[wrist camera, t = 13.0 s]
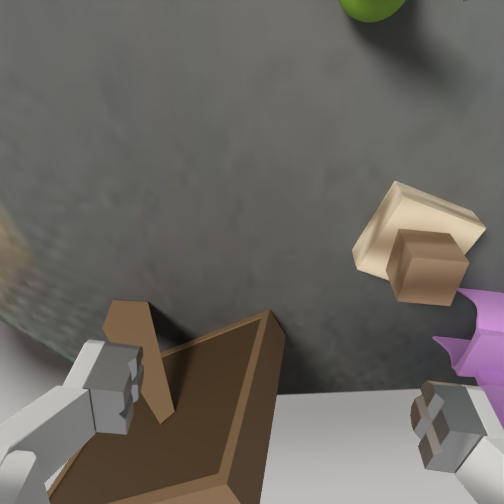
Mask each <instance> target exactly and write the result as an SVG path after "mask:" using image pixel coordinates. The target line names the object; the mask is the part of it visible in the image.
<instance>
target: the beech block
mask: <svg viewBox="0 0 504 504" xmlns="http://www.w3.org/2000/svg"><path fill="white" fill-rule="evenodd" d="M398 229H408V230H419V231H430V232H440V233H450V234H451V236H452V237H453V239H454V240H455V242H456V243H457V245H458V246H459V248H460V249H461V251H462V252H463V254H464V255H465V254H466V253H467V252H468V250H469V249H470V248H471V247H472V245H473V244H474V243H475V242H476V241H477V239H478V238H479V237H480V236H481V234H482V233H483V232H484V231H485V229H486V227H485V226H484V225H483V224H482V223H481V221H480V220H479V219H478V218H477V217H476V215H475V214H474V213H473V212H472V211H471V210H469V209H466V208H463V207H461V206H458V205H456V204H453V203H451V202H448V201H445V200H443V199H440V198H438V197H435V196H433V195H430V194H428V193H425V192H422V191H420V190H417V189H415V188H412V187H410V186H407V185H404V184H402V183H399V182H397V181H394V183H393V185H392V186H391V188H390V190H389V191H388V193H387V194H386V196H385V198H384V199H383V201H382V202H381V204H380V206H379V207H378V209H377V211H376V212H375V214H374V215H373V217H372V219H371V220H370V222H369V223H368V225H367V227H366V228H365V230H364V231H363V233H362V235H361V236H360V238H359V240H358V241H357V243H356V244H355V246H354V248H353V249H352V253H353V256H354V260H355V264H356V267H357V269H358V270H360V271H363V272H366V273H369V274H372V275H375V276H378V277H381V278H384V279H386V280H389V278H388V275H387V273H386V267H387V264H388V260H389V257H390V254H391V251H392V248H393V245H394V242H395V238H396V235H397V232H398Z"/></svg>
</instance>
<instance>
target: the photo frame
mask: <svg viewBox="0 0 504 504" xmlns="http://www.w3.org/2000/svg"><path fill="white" fill-rule="evenodd" d="M102 329H103V331H104V333H105V335H106V336H107V338H108V340H109V341H110V342H113V343H120V344H127V345H134V346H141V347H143V358H142V361H141V364H142V365H143V366H144V377H143V383H142V388H141V392H140V395H139V399H138V400H137V401H135V402H134V403H133V408H134V414H133V417H132V420H131V423H130V426H129V429H128V432H127V435H125V434H114V433H102V432H95V435H94V436H93V437H92V438H91V439H89V440H88V441H87V442H86V443H85V444H84V445H83V446H82V447H81V448H80V449H79V450H78V451H77V452H76V453H75V454H74V455H73V456H72V457H71V458H70V459H69V460H68V462H67V464H66V465H65V466H64V468H63V469H62V471H61V472H60V474H59V475H58V477H57V478H56V479H55V481H54V483H53V484H52V485H51V487H50V488H49V490H48V491H47V494H48V498H49V501H50V504H260V497H261V491H262V484H263V478H264V472H265V465H266V459H267V453H268V447H269V440H270V434H271V428H272V421H273V415H274V409H275V401H276V396H277V389H278V383H279V377H280V370H281V364H282V358H283V351H284V345H285V339H286V336H285V334H284V332H283V331H282V329H281V327H280V326H279V324H278V322H277V320H276V319H275V317H274V315H273V314H272V312H271V310H270V309H269V310H266V311H264V312H261V313H259V314H256V315H254V316H251V317H249V318H246V319H244V320H241V321H239V322H236V323H234V324H231V325H229V326H226V327H224V328H221V329H219V330H216V331H214V332H211V333H209V334H206V335H204V336H201V337H199V338H196V339H194V340H191V341H189V342H186V343H184V344H181V345H179V346H176V347H174V348H171V349H169V350H166V351H164V352H161V353H160V350H159V346H158V342H157V338H156V334H155V330H154V326H153V322H152V318H151V314H150V309H149V305H148V302H139V301H120V300H113V301H112V304H111V306H110V309H109V312H108V314H107V317H106V320H105V323H104V325H103V328H102Z"/></svg>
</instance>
